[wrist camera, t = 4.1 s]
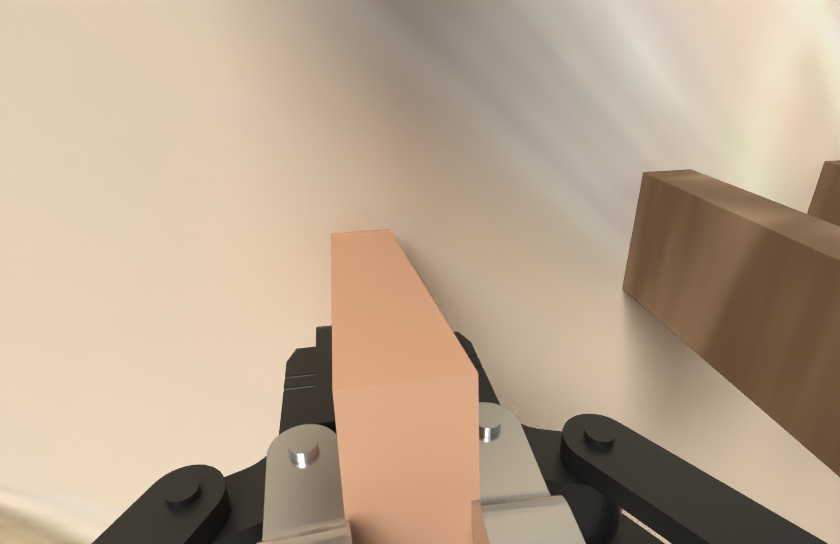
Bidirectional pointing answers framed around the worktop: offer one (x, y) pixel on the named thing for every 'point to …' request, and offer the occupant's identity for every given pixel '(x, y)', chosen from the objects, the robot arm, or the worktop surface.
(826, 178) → the domino
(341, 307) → the domino
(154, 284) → the worktop surface
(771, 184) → the worktop surface
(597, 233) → the worktop surface
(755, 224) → the domino
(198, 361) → the worktop surface
